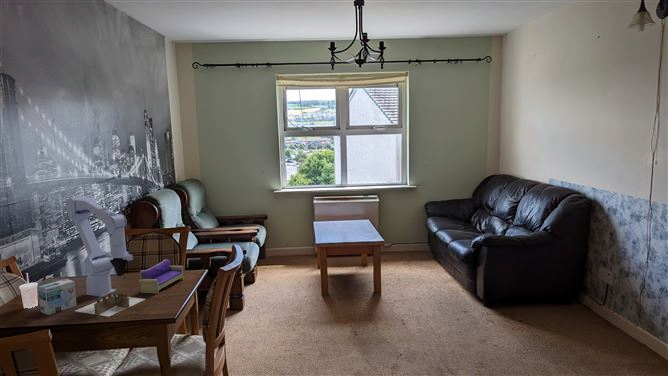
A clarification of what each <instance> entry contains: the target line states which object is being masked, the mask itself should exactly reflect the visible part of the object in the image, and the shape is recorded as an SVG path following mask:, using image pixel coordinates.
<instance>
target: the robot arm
mask: <svg viewBox="0 0 668 376" xmlns="http://www.w3.org/2000/svg"><path fill="white" fill-rule="evenodd" d="M65 210H66V212H67V214H68V216H69V218H70V220H72V221H73V223H74V226H75V227H76V230H77V232H78V235H79V237H80V239H81V241H82V243H83V246H84V248H85V250H86V253H87V256H86V257H85V258H84V260H83V263H84V267H85V272H86V273H87V276H86V280H85V284H86V292H85V295H86V296H87V295H88V296H93V297H103V296H106V295H108V294H112V293H115V291H117V289H114V288H112V281H111V280H112V279H111V272H112V270H113V269H114V270H115V273H116V277H122V276H124V275H125V270H126V265H127V264H128V262H130V261H132V260H134V258H133V257H134V256H133V254H130V253H129V251H127V248H126V246H127V245H126V233H125V228H126V226H127V225H128V220H127V217H126V215H124V214H123V213H116V212H115V211H113V210H111V209H109V207H107V206H103V207H102V206H101V205H99V204H98V203H97V202H96V200H95V197H93V196H91V195H90V194H89V195H84V196H78V197H68V198H67V199H66V201H65ZM92 214H95V217H96V219H97V220H99V221H100V222H102V223H103V224H104V226H105V228H106V232H107V234H108V236H109V248H110V251H109V252H108V251H106V250H102V248H101V246H100V244H99V242H98V239H97V238H96V235H95V233H94V231H93V228H92V226H91V224H90V221H89V219H88V218H89V217H91V215H92Z"/></svg>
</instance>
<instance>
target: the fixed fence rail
mask: <svg viewBox="0 0 668 376" xmlns="http://www.w3.org/2000/svg"><path fill="white" fill-rule="evenodd" d="M116 294H117V297H116V300H117V306H118V307H125V308H126V309H128V308H130V307H129V297H130V296H128V293H124V292H122V293H121V292H118V293H117V292H116Z"/></svg>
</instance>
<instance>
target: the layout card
mask: <svg viewBox="0 0 668 376" xmlns="http://www.w3.org/2000/svg"><path fill="white" fill-rule="evenodd" d="M111 296H113V294H111ZM128 297H129V307H128V308H130V307H133V306H135V305H137V304H139V303H141V302H143V301H145V300H146V298H139V297H133V296H132V297H131V296H128ZM106 298H108V296H107V297H106ZM102 300H103V298H102V299H100V301H102ZM95 303H97V301H95V302H93V303H91V304H88V305H86V306H83V307H81V308H78V309H76V310H75V312H77V313H83V314H90V315H97V314H95V309H94V304H95ZM126 309H127V308H125V307H118V306H117V305H116V306H114V307H112V308H110V309H108V310H106V311H104V312H102V313H100V314H98V315H97V316H103V317H111V316H113V315H116V314H118V313H120V312H122V311H125V310H126Z"/></svg>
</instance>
